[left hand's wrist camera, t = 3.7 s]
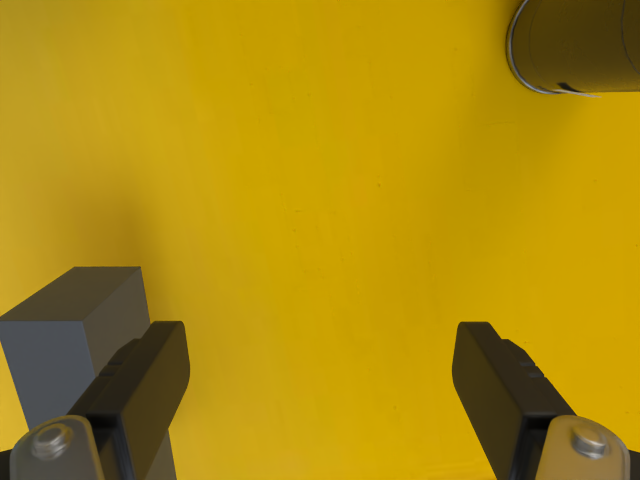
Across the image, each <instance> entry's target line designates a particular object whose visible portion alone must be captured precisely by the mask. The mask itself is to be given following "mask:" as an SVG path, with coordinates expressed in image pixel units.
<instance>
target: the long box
mask: <svg viewBox="0 0 640 480" xmlns="http://www.w3.org/2000/svg"><path fill="white" fill-rule="evenodd" d="M149 327H150V319H149V313H148V307H147V301H146V295H145V290H144V284H143V278H142V272H141V267H73V268H72V269H70V270H69V271H68V272H66V273H65V274H63V275H62V276H60V277H59V278H57V279H56V280H54V281H53V282H51V283H50V284H48V285H47V286H45V287H44V288H42V289H41V290H39V291H38V292H36V293H35V294H33V295H32V296H30V297H29V298H27V299H26V300H24V301H23V302H21V303H20V304H18V305H17V306H16V307H14V308H13V309H11V310H10V311H8V312H7V313H5V314H4V315H2V316H1V317H0V341H1V344H2V348H3V351H4V354H5V357H6V360H7V363H8V366H9V369H10V372H11V375H12V378H13V382H14V385H15V388H16V391H17V394H18V397H19V400H20V403H21V406H22V409H23V412H24V416H25V419H26V422H27V425H28V428H29V431H30V430H31V429H33V428H34V427H36V426H38V425H40V424H42V423H44V422H46V421H48V420H51V419H53V418H56V417H60V416H65V415H66V414H67V413H68V412H69V410H70V409H71V408H72V407H73V405H74V404H75V403H76V402H77V400H78V399H79V398H80V396H81V395H82V394H83V393H84V391H85V390H86V389H87V388H88V386H89V385H90V384H91V383H92V381H93V380H94V379H95V378H96V376H99V373H100V371H101V370H102V369H103V368H104V366H105V365H107V364H108V361H109V360H110V359H111V358H112V356H113V355H114V354H115V353H116V351H117V350H118V349H120V348H121V347H122V346H124V345H125V344H127V343H128V342H130V341H131V340H133V339H134V338H142V336H143V335H144V334H145V332H146V331H147V330H148V328H149ZM145 480H177V478H176V472H175V466H174V461H173V455H172V449H171V443H170V437H169V431H168V430H167V432H166V434H165V437H164V439H163V441H162V443H161V445H160V448H159V450H158V452H157V454H156V456H155V459H154V461H153V463H152V465H151V467H150V469H149V472H148V474H147V476H146V478H145Z"/></svg>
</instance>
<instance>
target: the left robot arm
mask: <svg viewBox="0 0 640 480" xmlns="http://www.w3.org/2000/svg"><path fill="white" fill-rule="evenodd" d="M506 54H507V60H508V63H509V66H510V69H511V71H512V73H513V75H514V76H515V78H516V79H517V80H518V81H519V82H520V83H521V84H522V85H523V86H525V87H526V88H528V89H530V90H532V91H534V92H537V93H542V94H561V93H572V94H577V95H583V96H589V97H600V96H594V95H589V94H583V93H586V92H640V0H523V2H522V3H521V4H520V6H519V7H518V9H517V10H516V12H515V14H514V16H513V18H512V20H511V23H510V26H509V29H508V34H507V40H506ZM189 377H190V363H189V355H188V348H187V341H186V334H185V327H184V324H183V322H182V321H154V322H153V323H152V324H151V325H150V327H149V328H148V330H147V331H146V332H145V334H144V335H143V336H142V338H134V339H133V340H131V341H130V342H128V343H127V344H125V345H124V346H122V347H121V348H120V349H118V350H117V351H116V353H115V354H114V355H113V356H112V358H111V359H110V360H109V361H108V364H107V365H105V366H104V368H103V369H102V370H101V371H100V373H99V376H96V378H95V379H94V380H93V381H92V383H91V384H90V385H89V386H88V388H87V389H86V390H85V391H84V393H83V394H82V395H81V396H80V398H79V399H78V400H77V402H76V403H75V404H74V405H73V407H72V408H71V409H70V410H69V412H68V413H67V414H66V415H65V416H60V417H56V418H53V419H51V420H48V421H46V422H44V423H42V424H40V425H38V426H36V427H34V428H33V429H31V430H30V431H29V432H27V433H26V434H25V435H24V436H23V437H22V438H21V439H20V440H19V441H18V442H17V443H16V444H15V446H14V448H13V449H10V450H6V451H2V452H0V480H145V478H146V476H147V474H148V472H149V469H150V467H151V465H152V463H153V461H154V459H155V456H156V454H157V452H158V450H159V448H160V445H161V443H162V441H163V439H164V437H165V434H166V432H167V430H168V428H169V426H170V424H171V421H172V419H173V417H174V415H175V413H176V410H177V408H178V406H179V404H180V402H181V399H182V397H183V395H184V393H185V391H186V388H187V386H188V382H189ZM452 377H453V383H454V387H455V389H456V391H457V394H458V396H459V398H460V400H461V402H462V404H463V407H464V409H465V411H466V413H467V415H468V417H469V420H470V422H471V424H472V426H473V428H474V430H475V433H476V435H477V437H478V439H479V441H480V443H481V445H482V448H483V450H484V452H485V454H486V456H487V458H488V461H489V463H490V465H491V467H492V469H493V471H494V474H495V476H496V478H497V480H640V453H639V452H635V451H631V450H628V449H627V448H626V446H625V444H624V443H623V442H622V441H621V440H620V439H619V438H618V437H617V436H616V435H615V434H614V433H613V432H611V431H610V430H609V429H607V428H605V427H604V426H602V425H600V424H598V423H596V422H594V421H592V420H589V419H587V418H584V417H580V416H577V415H576V414H575V412H574V411H573V410H572V409H571V407H570V406H569V405H568V404H567V402H566V401H565V400H564V399H563V398H562V396H561V395H560V394H559V393H558V391H557V390H556V389H555V388H554V386H553V385H552V384H551V383H550V381H549V380H548V379H547V378H546V377H544V374H543V373H542V371H541V370H540V369H539V368H538V366H535V363H534V362H533V360H532V359H531V358H530V357H529V355H528V354H527V353H526V352H525V350H523V349H522V348H520V347H519V346H517V345H516V344H514V343H513V342H512V341H510V340H509V339H501V338H500V336H499V335H498V334H497V332H496V331H495V330H494V328H493V327H492V326H491V324H490V323H488V322H460V323H459V325H458V328H457V335H456V342H455V349H454V356H453V363H452Z"/></svg>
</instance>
